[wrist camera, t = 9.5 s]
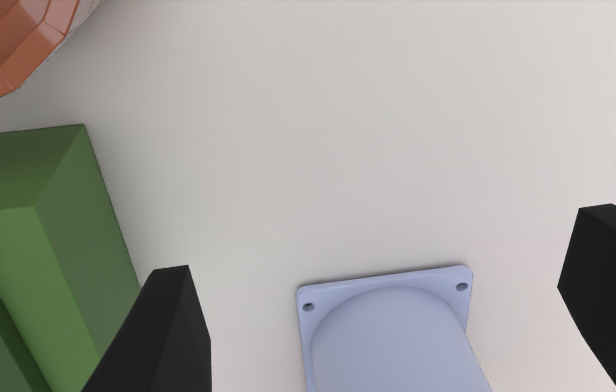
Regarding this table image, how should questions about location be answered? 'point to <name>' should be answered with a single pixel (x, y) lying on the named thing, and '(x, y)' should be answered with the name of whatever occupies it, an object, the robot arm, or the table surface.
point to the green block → (57, 262)
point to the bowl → (35, 35)
